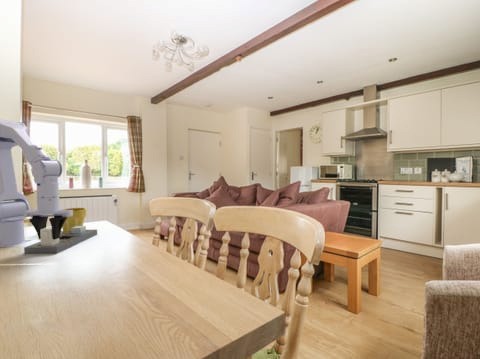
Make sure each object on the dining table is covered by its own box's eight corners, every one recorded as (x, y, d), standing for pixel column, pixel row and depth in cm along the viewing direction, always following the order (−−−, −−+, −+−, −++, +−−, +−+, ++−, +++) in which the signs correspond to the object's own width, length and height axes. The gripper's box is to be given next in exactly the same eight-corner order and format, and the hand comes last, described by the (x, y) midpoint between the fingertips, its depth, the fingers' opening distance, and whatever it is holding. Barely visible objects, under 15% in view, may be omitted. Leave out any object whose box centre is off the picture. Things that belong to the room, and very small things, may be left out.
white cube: (71, 238, 100) (71, 228, 99) (76, 236, 103) (76, 226, 103) (80, 238, 100) (80, 227, 99) (85, 235, 103) (85, 225, 103)
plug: (39, 251, 83) (38, 229, 83) (48, 247, 87) (48, 227, 87) (50, 251, 83) (49, 229, 83) (59, 247, 87) (58, 227, 87)
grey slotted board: (24, 255, 81) (24, 247, 81) (72, 235, 105) (71, 229, 105) (56, 255, 82) (56, 247, 81) (97, 235, 105) (97, 229, 105)
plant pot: (65, 236, 105) (65, 212, 105) (53, 232, 110) (52, 210, 110) (91, 230, 114) (91, 208, 114) (79, 228, 119) (78, 206, 119)
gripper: (14, 198, 81) (16, 242, 81) (62, 198, 81) (63, 241, 81) (32, 196, 88) (33, 236, 88) (76, 196, 88) (77, 236, 88)
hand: (49, 238), depth 85 cm, fingers open, 4 cm apart
